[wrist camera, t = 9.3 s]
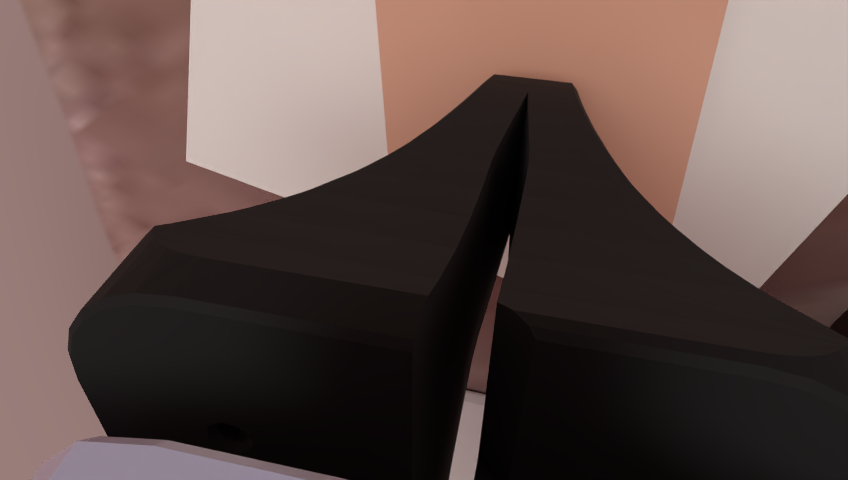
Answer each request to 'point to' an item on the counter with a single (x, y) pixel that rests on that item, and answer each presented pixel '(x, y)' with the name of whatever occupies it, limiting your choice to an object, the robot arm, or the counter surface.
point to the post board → (366, 143)
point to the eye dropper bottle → (468, 437)
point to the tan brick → (562, 70)
